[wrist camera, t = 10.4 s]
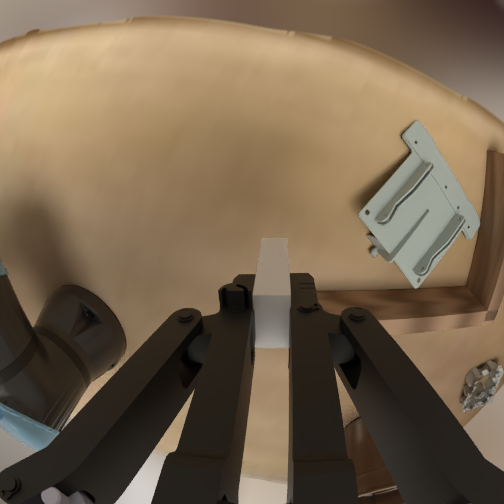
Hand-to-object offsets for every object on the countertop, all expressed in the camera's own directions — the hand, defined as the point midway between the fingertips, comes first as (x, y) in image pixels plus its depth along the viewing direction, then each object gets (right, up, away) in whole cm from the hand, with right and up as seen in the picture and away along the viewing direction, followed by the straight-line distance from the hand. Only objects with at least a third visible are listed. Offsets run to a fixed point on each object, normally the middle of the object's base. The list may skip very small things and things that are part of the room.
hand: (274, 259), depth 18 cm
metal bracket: (+17, +5, +11) cm, 20 cm away
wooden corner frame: (+17, +3, +11) cm, 21 cm away
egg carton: (+40, -23, +20) cm, 50 cm away
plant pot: (+21, -32, +25) cm, 46 cm away
